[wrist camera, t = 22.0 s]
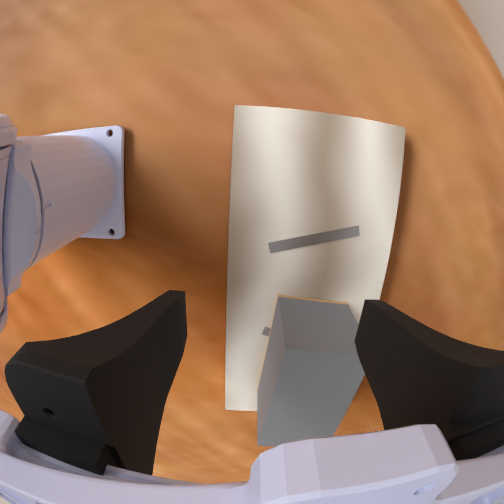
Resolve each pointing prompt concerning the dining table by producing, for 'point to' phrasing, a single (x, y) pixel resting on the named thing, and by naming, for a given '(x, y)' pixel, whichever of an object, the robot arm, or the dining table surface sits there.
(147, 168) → the dining table surface
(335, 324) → the block
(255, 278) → the cream flat panel
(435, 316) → the dining table surface
